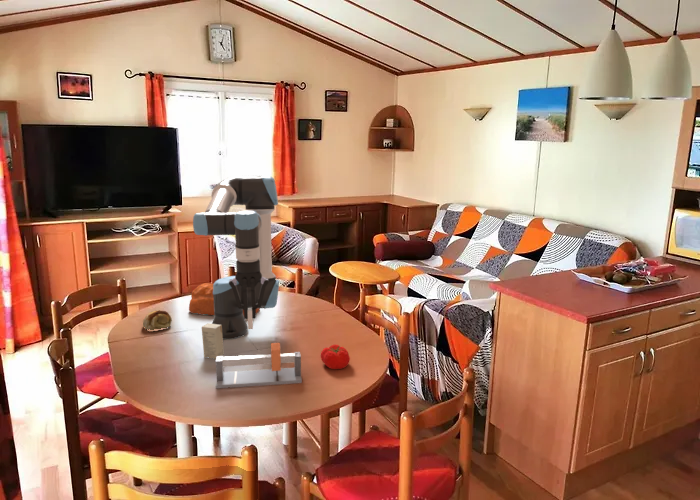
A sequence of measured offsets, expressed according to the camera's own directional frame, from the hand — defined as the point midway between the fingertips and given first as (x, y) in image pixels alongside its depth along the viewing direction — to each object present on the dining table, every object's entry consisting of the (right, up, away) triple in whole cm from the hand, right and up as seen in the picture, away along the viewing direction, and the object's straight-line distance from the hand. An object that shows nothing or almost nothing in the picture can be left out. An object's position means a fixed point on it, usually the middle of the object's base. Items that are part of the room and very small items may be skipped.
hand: (250, 327), depth 180 cm
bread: (-25, -3, +71) cm, 76 cm away
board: (+2, -18, +4) cm, 19 cm away
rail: (+2, -18, +4) cm, 19 cm away
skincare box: (-18, -14, +22) cm, 31 cm away
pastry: (-49, -7, +51) cm, 71 cm away
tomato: (+28, -16, +15) cm, 36 cm away
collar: (+8, -14, +4) cm, 17 cm away
